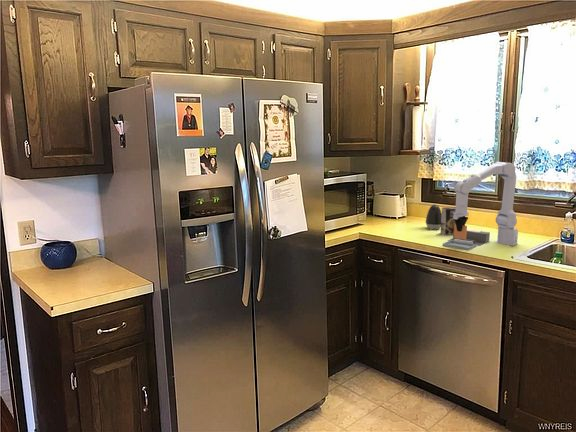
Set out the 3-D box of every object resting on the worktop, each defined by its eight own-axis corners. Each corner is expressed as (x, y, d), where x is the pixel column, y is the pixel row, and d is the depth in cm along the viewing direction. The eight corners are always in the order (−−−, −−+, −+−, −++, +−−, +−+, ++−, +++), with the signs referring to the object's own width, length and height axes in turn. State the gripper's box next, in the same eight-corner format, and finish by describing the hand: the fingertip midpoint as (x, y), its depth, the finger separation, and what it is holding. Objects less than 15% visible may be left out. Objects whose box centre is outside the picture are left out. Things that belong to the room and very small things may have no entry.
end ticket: (466, 238, 241) (467, 225, 240) (464, 239, 240) (465, 226, 239) (455, 237, 245) (455, 224, 244) (453, 237, 244) (454, 224, 243)
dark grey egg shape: (423, 229, 287) (424, 205, 284) (428, 226, 296) (429, 202, 293) (439, 231, 282) (440, 206, 279) (444, 227, 290) (445, 204, 287)
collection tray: (476, 247, 242) (476, 244, 242) (468, 251, 235) (468, 248, 235) (450, 243, 252) (450, 240, 252) (442, 247, 245) (442, 243, 244)
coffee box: (445, 236, 268) (446, 209, 265) (440, 234, 274) (441, 207, 271) (460, 235, 269) (461, 208, 266) (454, 233, 275) (455, 206, 272)
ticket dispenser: (489, 242, 252) (489, 231, 251) (479, 247, 243) (480, 236, 242) (457, 237, 265) (457, 227, 263) (446, 241, 255) (447, 231, 254)
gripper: (459, 202, 247) (458, 227, 250) (448, 206, 237) (446, 232, 239) (473, 204, 242) (471, 229, 245) (461, 207, 232) (460, 234, 235)
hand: (460, 230), depth 242 cm, fingers closed on end ticket, 1 cm apart
